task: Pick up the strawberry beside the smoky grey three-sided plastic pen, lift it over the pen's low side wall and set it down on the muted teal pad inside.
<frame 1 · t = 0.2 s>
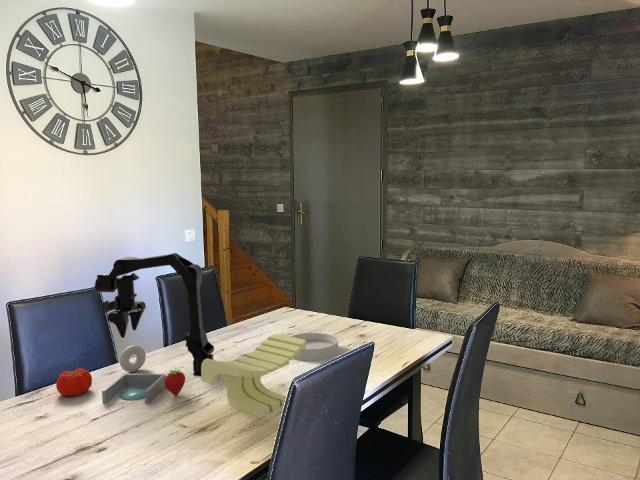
hand: (128, 333, 190), 14 cm above the table, tool pointing down, fingers open, 9 cm apart
tomato: (75, 393, 173), on the table
donut: (133, 371, 192), on the table
dish: (311, 353, 210), on the table
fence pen: (135, 393, 171), on the table
strawberry: (175, 396, 169), on the table
slatted curved stool: (257, 403, 162), on the table
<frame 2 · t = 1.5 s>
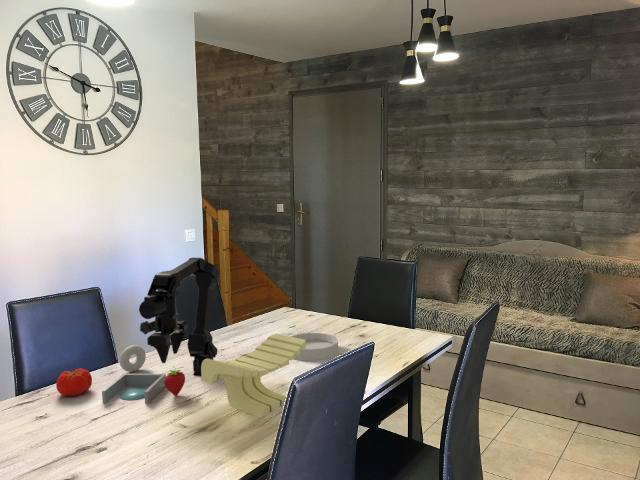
hand: (169, 358, 169), 12 cm above the table, tool pointing down, fingers open, 9 cm apart
nothing on the table moved.
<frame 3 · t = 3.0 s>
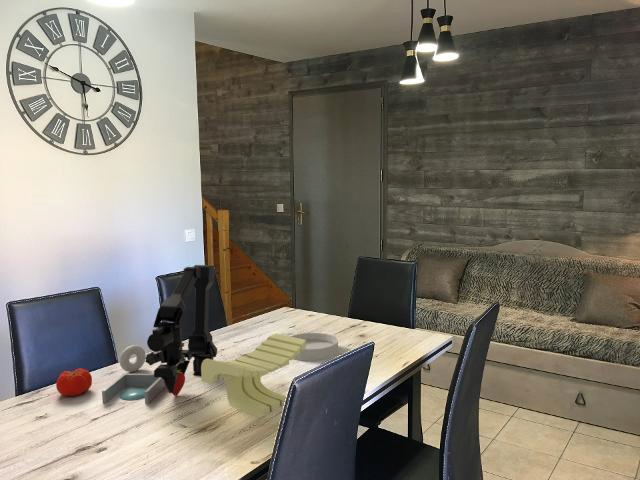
hand: (175, 388, 168), 3 cm above the table, tool pointing down, fingers closed on strawberry, 7 cm apart
strawberry: (175, 396, 169), on the table, touching gripper
everything else where it was.
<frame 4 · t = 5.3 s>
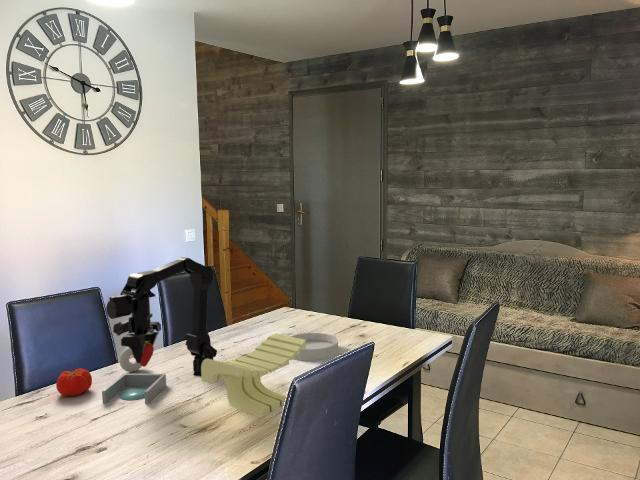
hand: (143, 358, 169), 12 cm above the table, tool pointing down, fingers closed on strawberry, 7 cm apart
strawberry: (144, 367, 169), point 9 cm above the table, touching gripper
everything else where it was.
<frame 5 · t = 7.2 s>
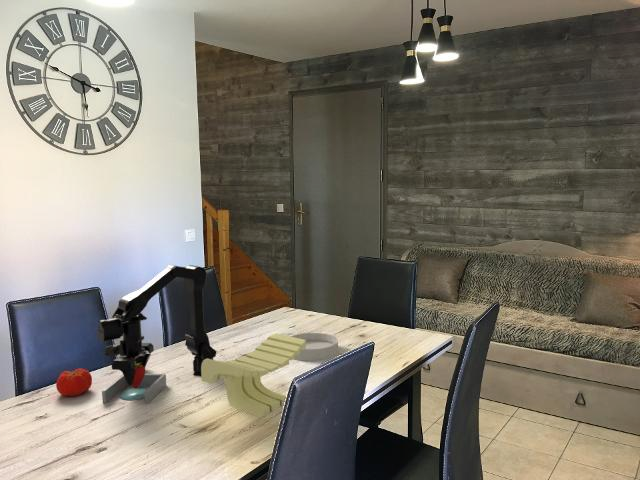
hand: (135, 380, 171), 4 cm above the table, tool pointing down, fingers closed on strawberry, 7 cm apart
strawberry: (135, 388, 171), point 2 cm above the table, touching gripper
everything else where it was.
when the fingers open (4 cm above the table, at t = 7.9 s): strawberry drops 2 cm, resting on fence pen.
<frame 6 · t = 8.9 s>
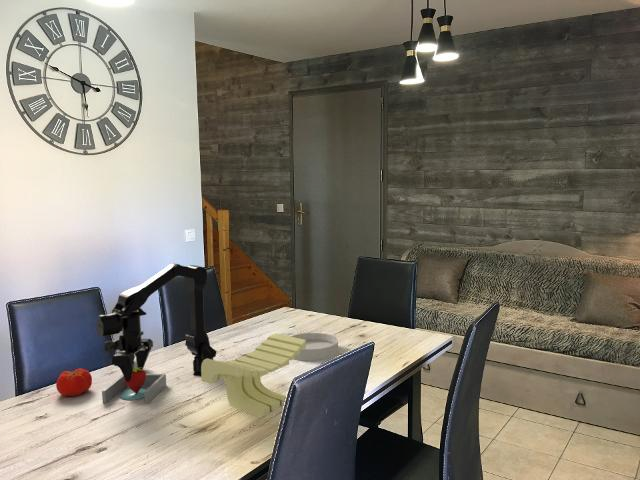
hand: (134, 376, 170), 6 cm above the table, tool pointing down, fingers open, 9 cm apart
strawberry: (136, 393, 171), resting on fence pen
everything else where it was.
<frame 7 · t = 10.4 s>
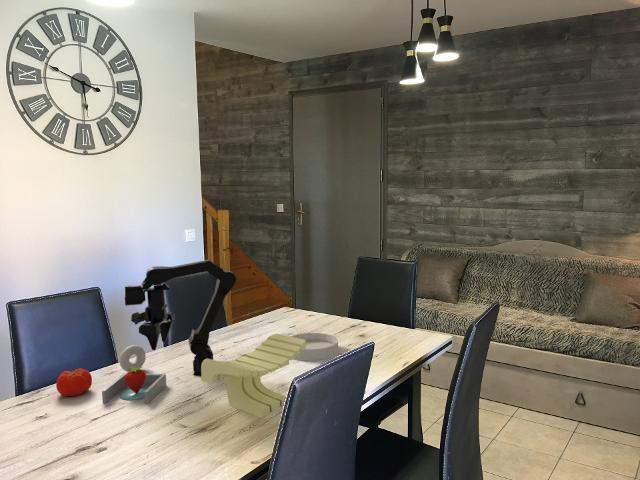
hand: (159, 345, 183), 12 cm above the table, tool pointing down, fingers open, 9 cm apart
nothing on the table moved.
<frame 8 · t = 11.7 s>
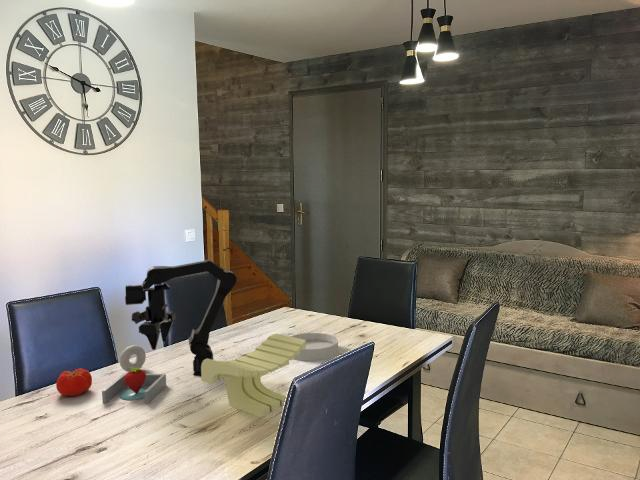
hand: (159, 345, 183), 12 cm above the table, tool pointing down, fingers open, 9 cm apart
nothing on the table moved.
at the end: strawberry 0.1 cm off-centre on the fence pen, point 0.1 cm above the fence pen's base; the gripper is holding nothing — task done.
